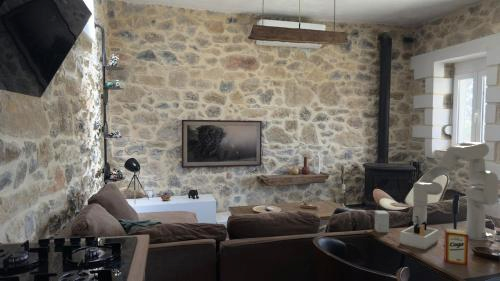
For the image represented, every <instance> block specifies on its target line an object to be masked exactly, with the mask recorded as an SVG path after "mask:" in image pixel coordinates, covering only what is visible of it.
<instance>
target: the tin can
mask: <svg viewBox="0 0 500 281" xmlns="http://www.w3.org/2000/svg"><path fill="white" fill-rule="evenodd" d="M417 224H418V223H417ZM419 227H420V234H416V233H415V235H419V236H423V237H424V224H422V223H421V224H420V226H419Z"/></svg>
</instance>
